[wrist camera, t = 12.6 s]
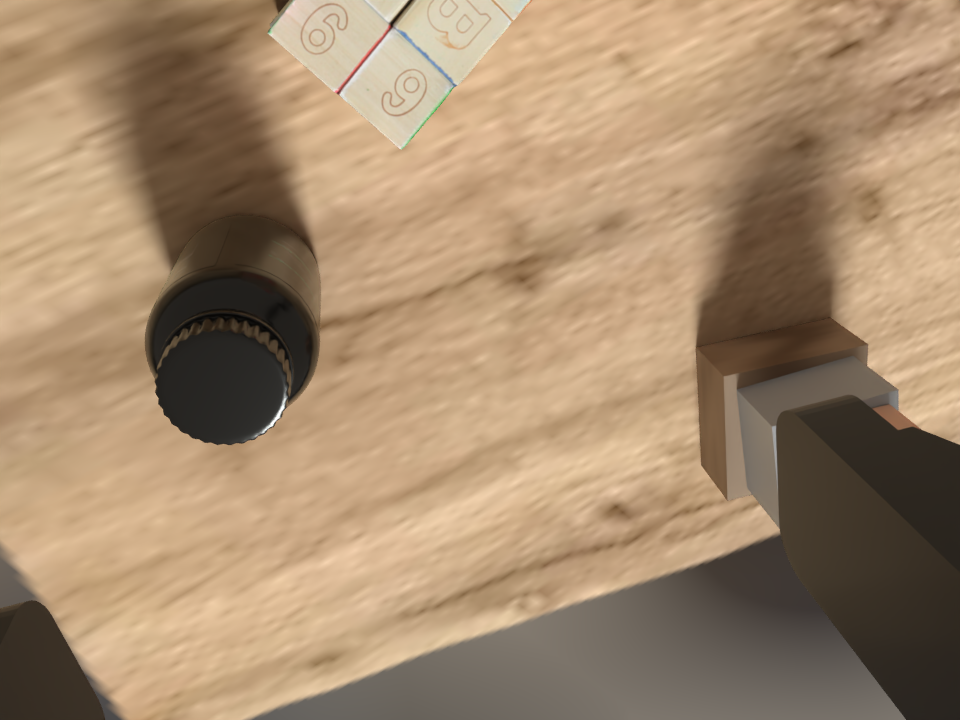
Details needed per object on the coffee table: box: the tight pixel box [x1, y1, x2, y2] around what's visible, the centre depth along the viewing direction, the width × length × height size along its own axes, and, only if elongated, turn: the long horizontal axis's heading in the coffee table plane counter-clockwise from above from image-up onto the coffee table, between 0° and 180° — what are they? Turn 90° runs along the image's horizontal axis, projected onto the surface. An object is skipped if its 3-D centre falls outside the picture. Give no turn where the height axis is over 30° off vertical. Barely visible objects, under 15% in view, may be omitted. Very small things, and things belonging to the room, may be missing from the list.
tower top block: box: [737, 356, 898, 529], centre depth 44 cm, size 6×6×4 cm
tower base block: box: [696, 318, 868, 501], centre depth 48 cm, size 8×8×4 cm
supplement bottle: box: [145, 215, 321, 445], centre depth 36 cm, size 7×7×12 cm
